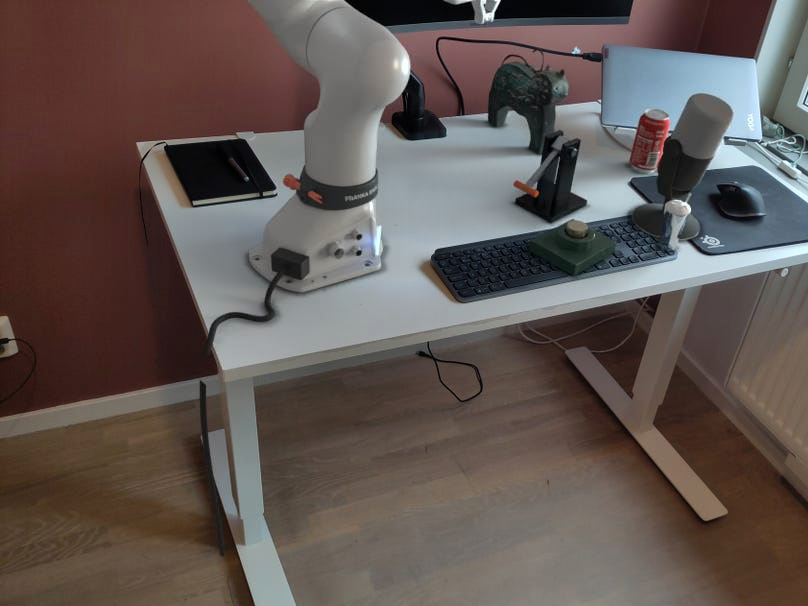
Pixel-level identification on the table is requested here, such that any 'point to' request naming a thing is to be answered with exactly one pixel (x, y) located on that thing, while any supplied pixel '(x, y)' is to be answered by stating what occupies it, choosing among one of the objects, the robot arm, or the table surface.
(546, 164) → the switch lever
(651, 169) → the beverage can
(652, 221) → the microphone
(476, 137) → the table surface
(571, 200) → the switch bracket
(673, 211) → the milkshake
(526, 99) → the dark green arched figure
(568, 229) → the button
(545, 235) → the button housing
